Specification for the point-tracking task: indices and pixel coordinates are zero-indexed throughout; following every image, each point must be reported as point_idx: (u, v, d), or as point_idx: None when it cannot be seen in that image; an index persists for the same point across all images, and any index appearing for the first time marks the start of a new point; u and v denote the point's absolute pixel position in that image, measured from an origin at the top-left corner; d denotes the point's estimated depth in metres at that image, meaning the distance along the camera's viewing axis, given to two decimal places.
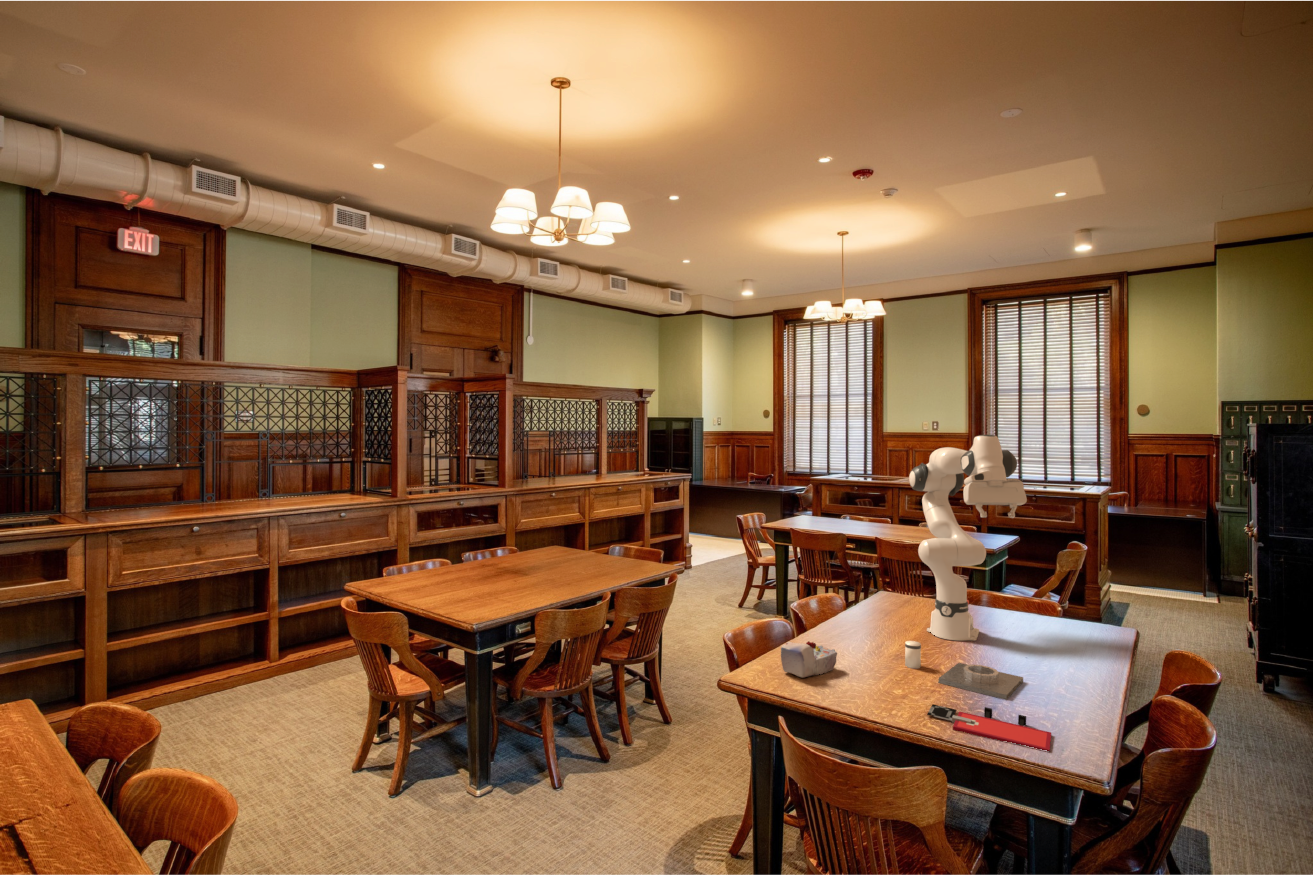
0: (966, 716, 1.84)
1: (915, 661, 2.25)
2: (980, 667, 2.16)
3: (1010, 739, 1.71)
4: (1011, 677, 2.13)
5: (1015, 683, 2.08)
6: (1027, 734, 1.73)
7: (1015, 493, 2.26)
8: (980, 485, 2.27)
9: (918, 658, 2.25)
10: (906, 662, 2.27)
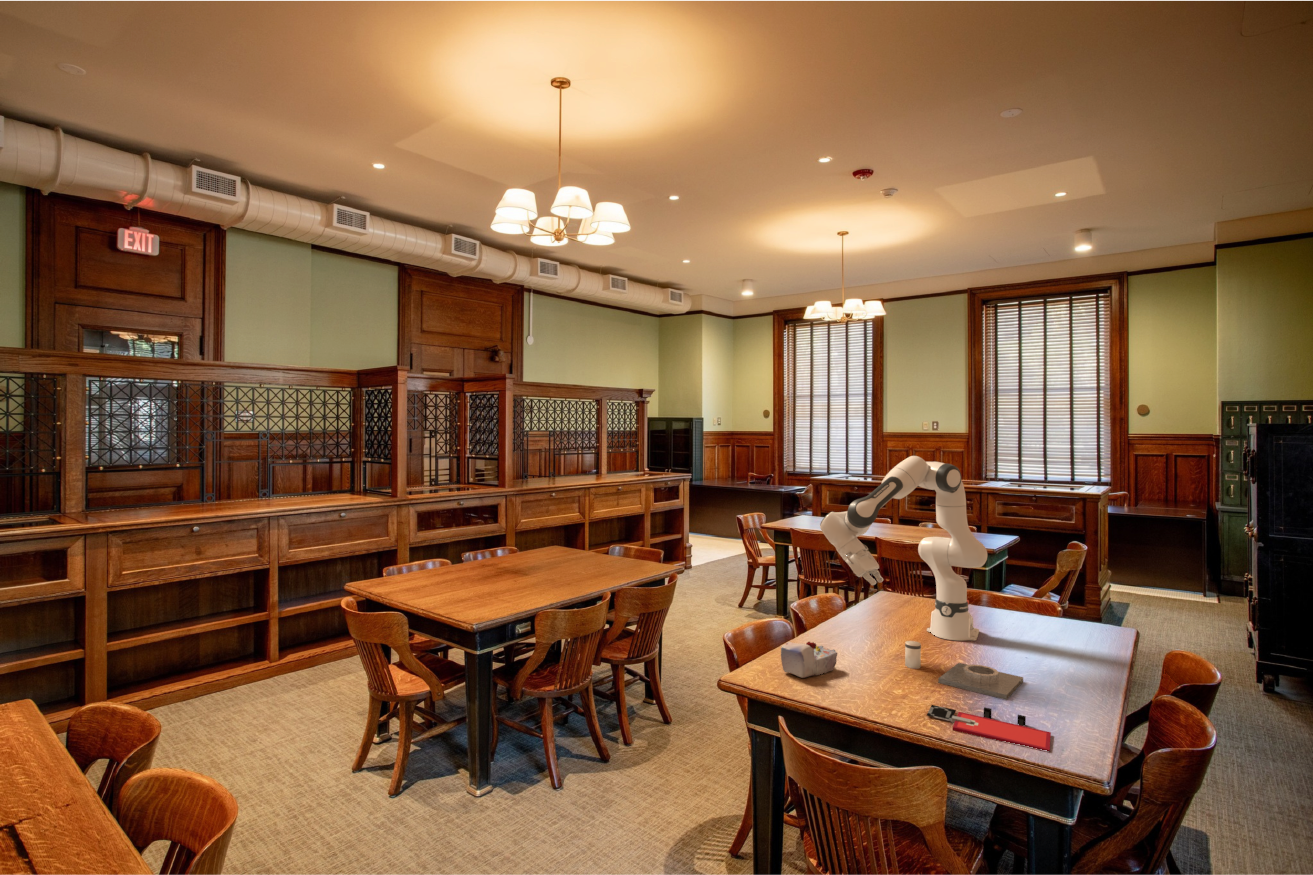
0: (966, 717, 1.84)
1: (915, 661, 2.25)
2: (980, 667, 2.16)
3: (1010, 739, 1.71)
4: (1011, 677, 2.13)
5: (1015, 683, 2.08)
6: (1027, 734, 1.73)
7: None
8: None
9: (918, 658, 2.25)
10: (906, 662, 2.27)
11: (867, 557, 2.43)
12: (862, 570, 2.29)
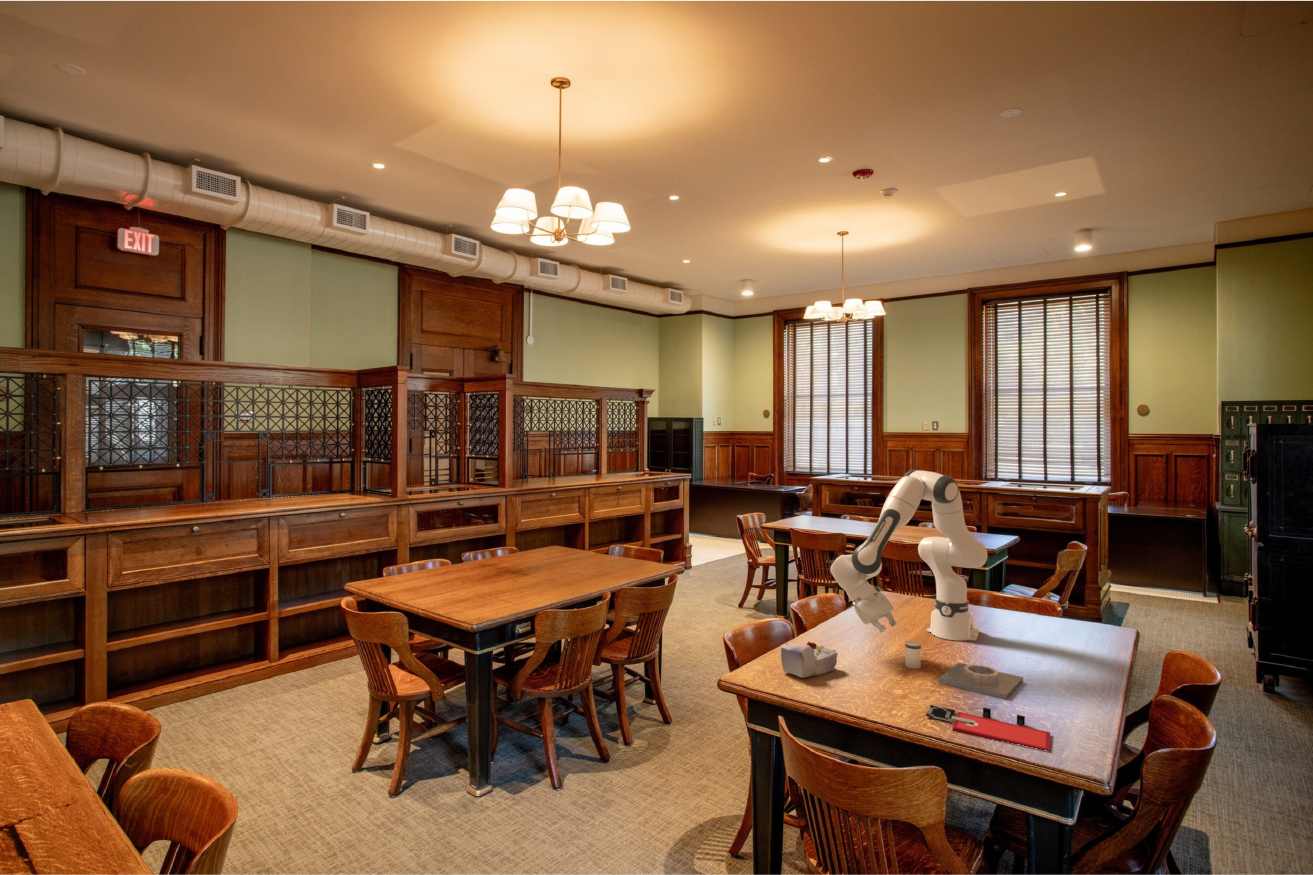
0: (965, 717, 1.83)
1: (915, 661, 2.25)
2: (980, 667, 2.16)
3: (1010, 740, 1.71)
4: (1011, 677, 2.13)
5: (1015, 683, 2.08)
6: (1026, 735, 1.73)
7: None
8: None
9: (918, 658, 2.25)
10: (906, 662, 2.27)
11: (880, 600, 2.40)
12: (869, 618, 2.28)
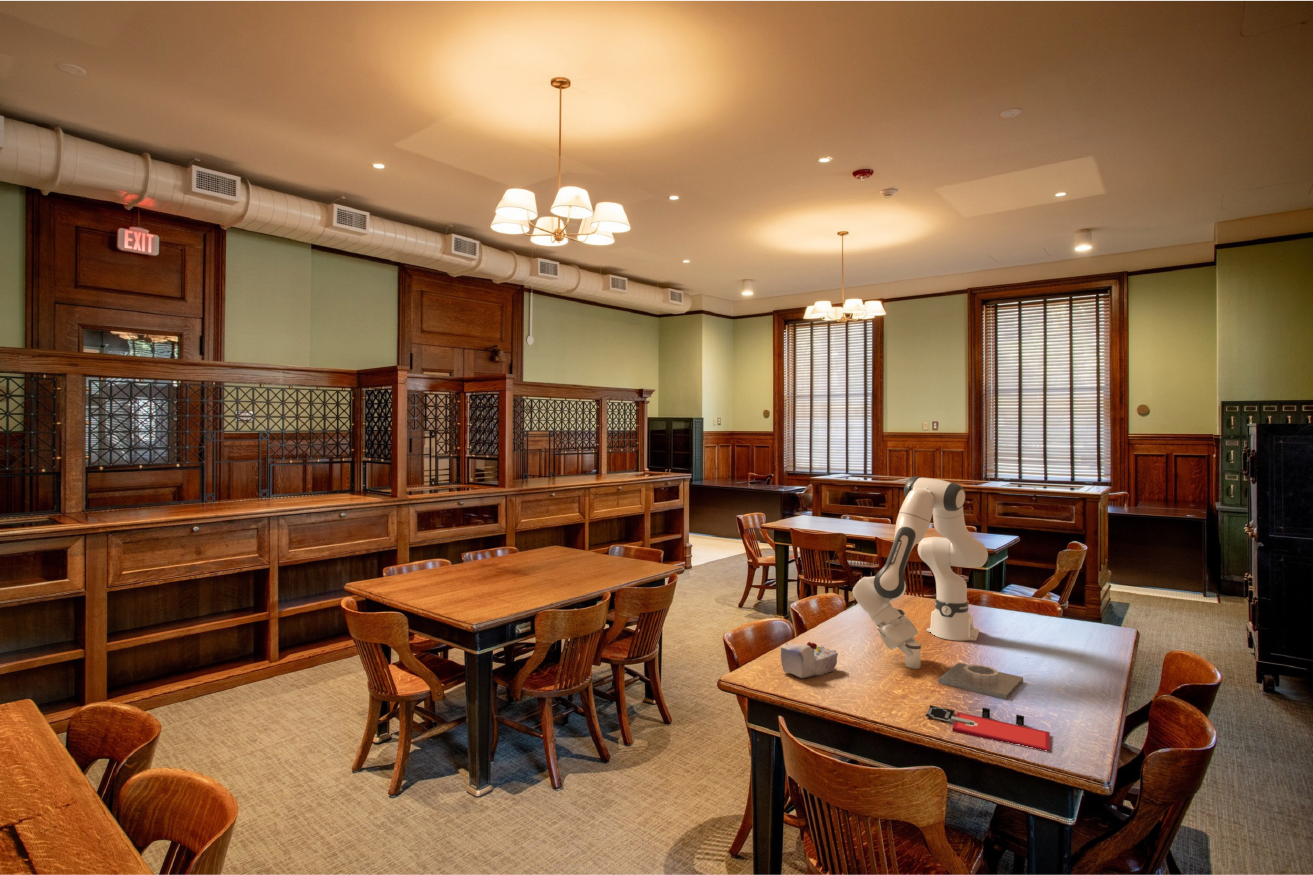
0: (965, 717, 1.83)
1: (915, 661, 2.25)
2: (980, 667, 2.16)
3: (1010, 740, 1.70)
4: (1011, 677, 2.13)
5: (1015, 683, 2.08)
6: (1026, 734, 1.73)
7: None
8: None
9: (918, 658, 2.25)
10: (906, 662, 2.27)
11: (904, 624, 2.34)
12: (894, 643, 2.22)
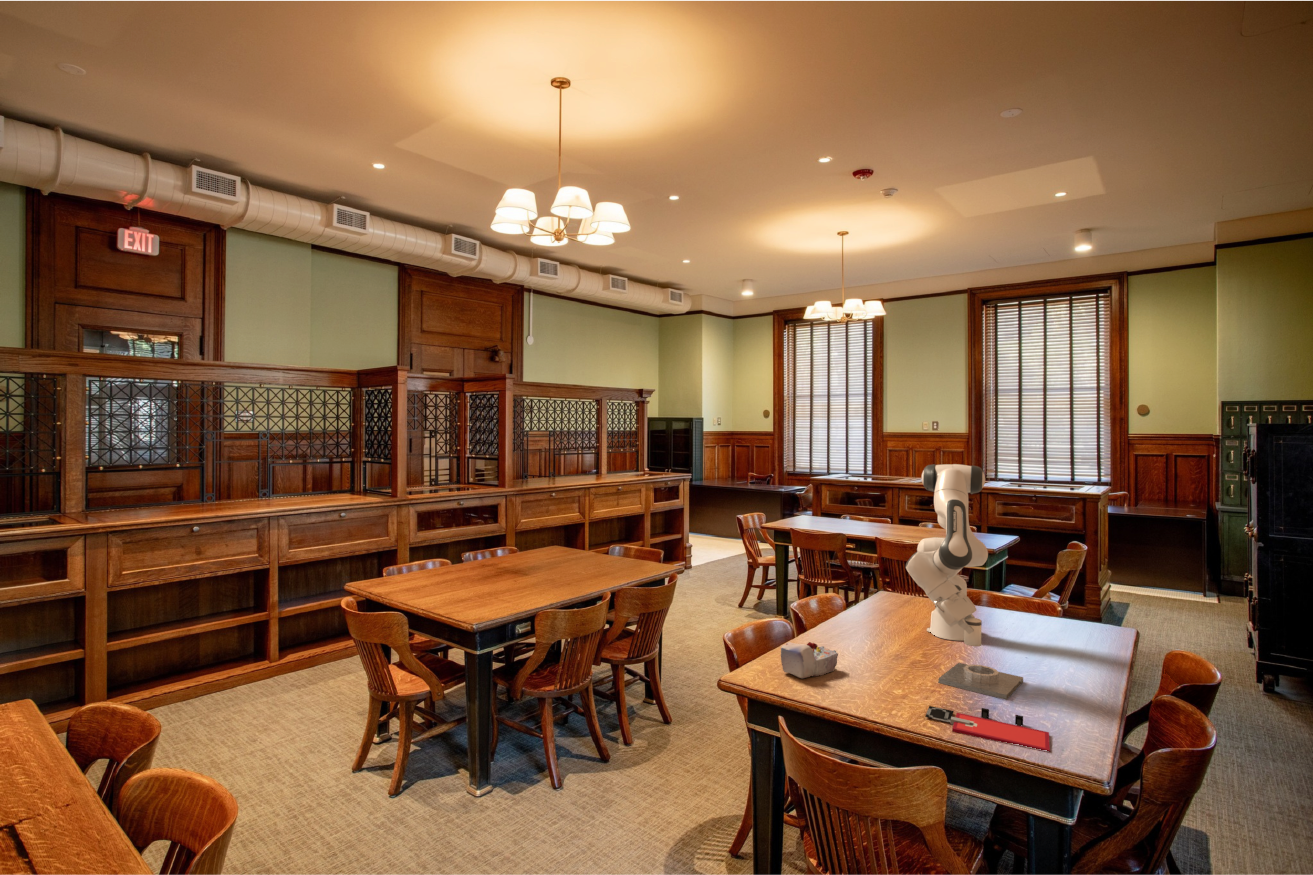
0: (964, 717, 1.83)
1: (976, 639, 2.12)
2: (980, 667, 2.16)
3: (1010, 740, 1.70)
4: (1011, 677, 2.13)
5: (1015, 683, 2.08)
6: (1026, 735, 1.73)
7: None
8: None
9: (979, 635, 2.12)
10: (966, 640, 2.14)
11: (961, 600, 2.21)
12: (954, 619, 2.08)
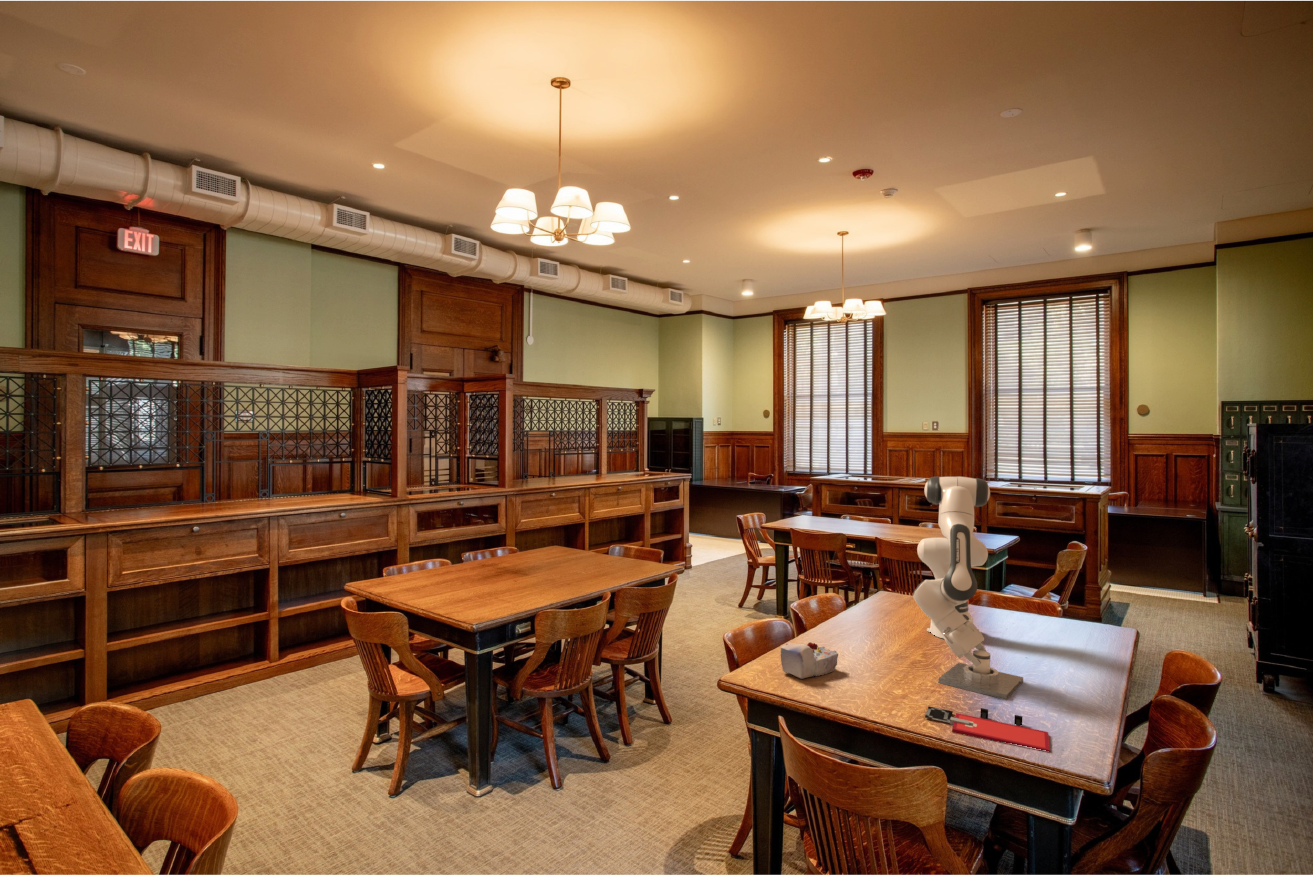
0: (964, 718, 1.83)
1: (985, 672, 2.10)
2: None
3: (1010, 740, 1.70)
4: (1011, 677, 2.13)
5: (1015, 683, 2.08)
6: (1025, 735, 1.73)
7: None
8: None
9: (988, 669, 2.11)
10: None
11: (969, 629, 2.20)
12: (963, 651, 2.07)
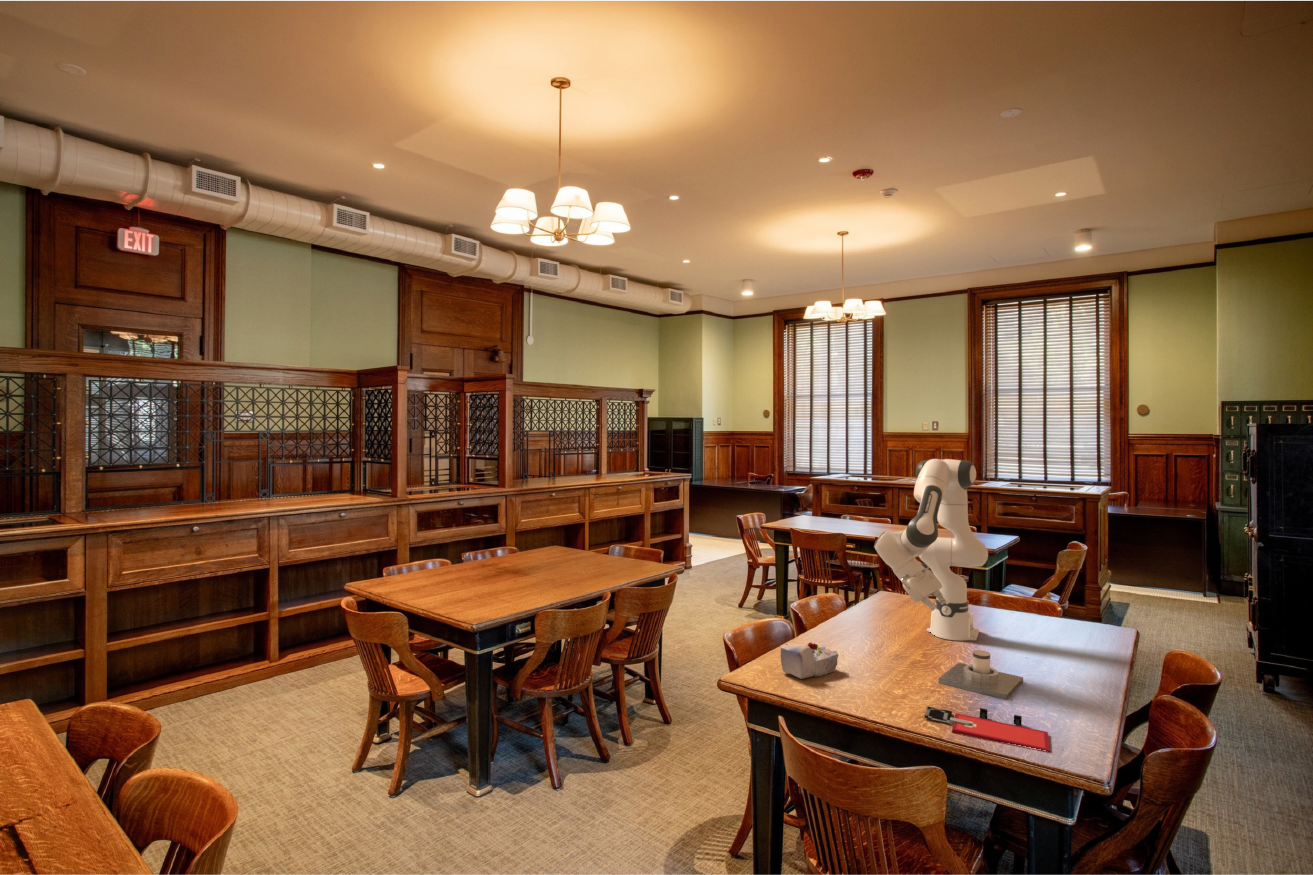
0: (963, 718, 1.83)
1: (985, 672, 2.10)
2: None
3: (1010, 740, 1.70)
4: (1011, 677, 2.13)
5: (1015, 683, 2.08)
6: (1025, 735, 1.73)
7: None
8: None
9: (988, 669, 2.11)
10: None
11: (928, 577, 2.29)
12: (919, 596, 2.16)
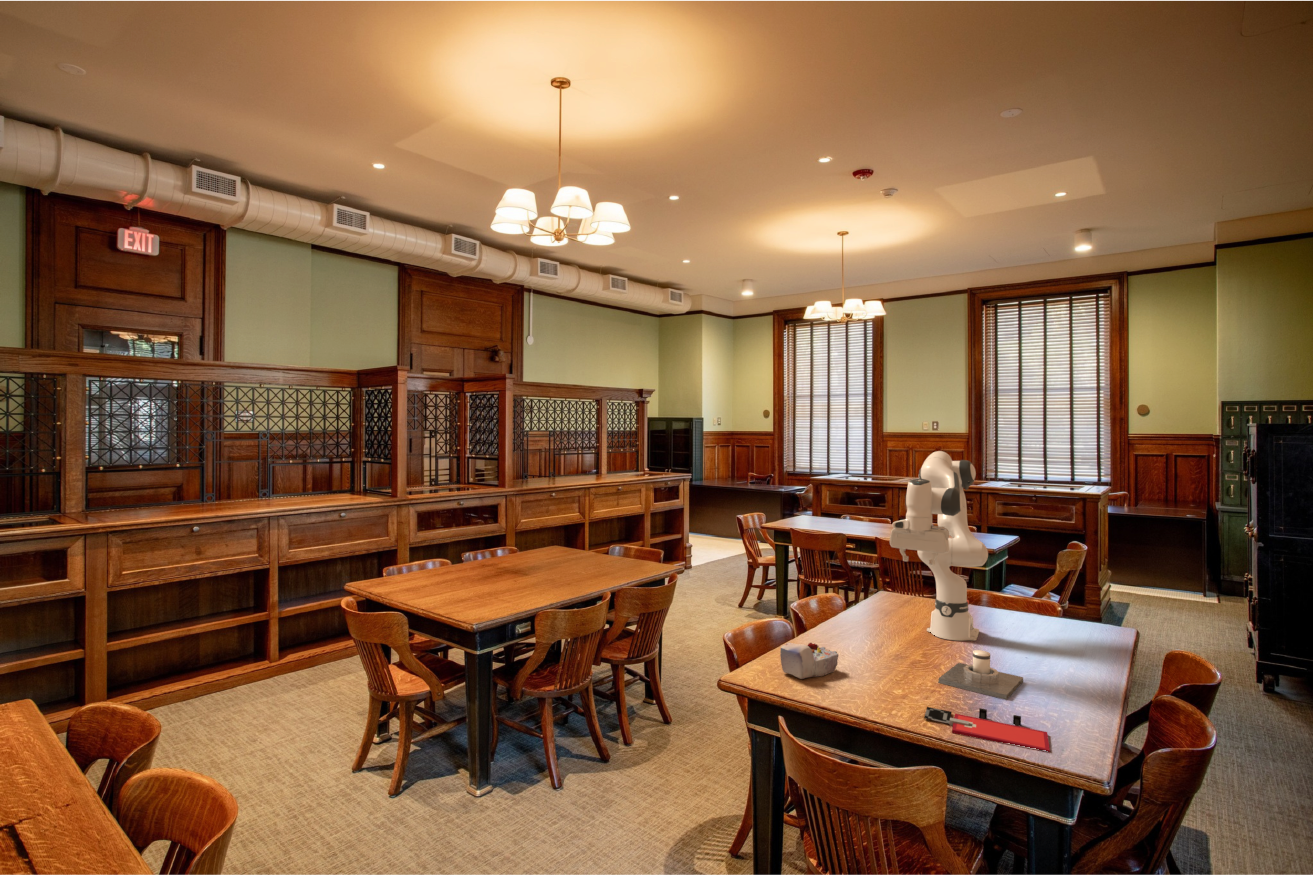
0: (963, 718, 1.82)
1: (985, 672, 2.10)
2: None
3: (1010, 741, 1.70)
4: (1011, 677, 2.13)
5: (1015, 683, 2.08)
6: (1025, 735, 1.73)
7: (935, 543, 2.30)
8: (901, 532, 2.38)
9: (987, 669, 2.11)
10: None
11: None
12: (948, 550, 2.30)
